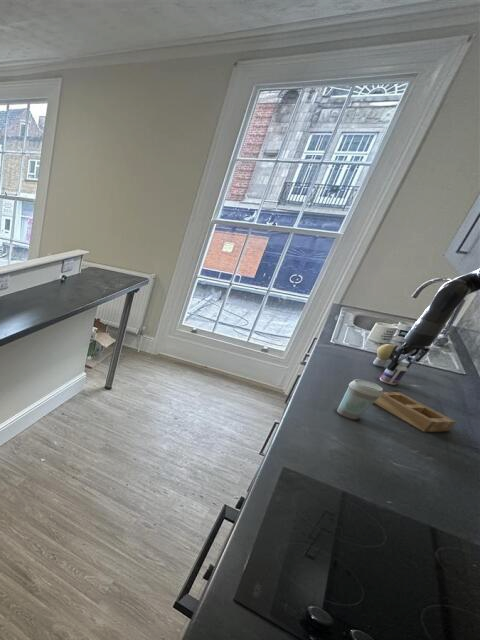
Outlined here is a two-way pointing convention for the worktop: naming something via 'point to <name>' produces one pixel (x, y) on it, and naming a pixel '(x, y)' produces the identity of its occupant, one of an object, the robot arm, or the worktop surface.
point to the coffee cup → (359, 398)
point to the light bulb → (383, 354)
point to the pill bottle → (395, 373)
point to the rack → (414, 412)
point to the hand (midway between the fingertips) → (396, 370)
